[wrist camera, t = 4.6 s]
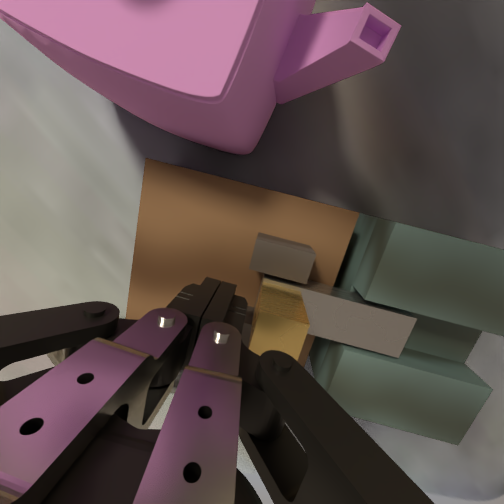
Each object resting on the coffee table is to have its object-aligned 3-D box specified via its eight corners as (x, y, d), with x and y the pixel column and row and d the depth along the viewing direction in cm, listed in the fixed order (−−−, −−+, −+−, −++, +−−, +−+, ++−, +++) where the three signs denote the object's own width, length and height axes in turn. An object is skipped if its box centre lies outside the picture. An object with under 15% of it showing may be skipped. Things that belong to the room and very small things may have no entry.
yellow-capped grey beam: (264, 268, 14) (260, 306, 9) (401, 304, 14) (466, 361, 9) (254, 305, 15) (246, 358, 10) (385, 340, 14) (438, 410, 10)
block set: (174, 165, 17) (123, 152, 11) (466, 240, 17) (569, 266, 11) (152, 302, 20) (103, 348, 14) (403, 370, 20) (458, 445, 14)
